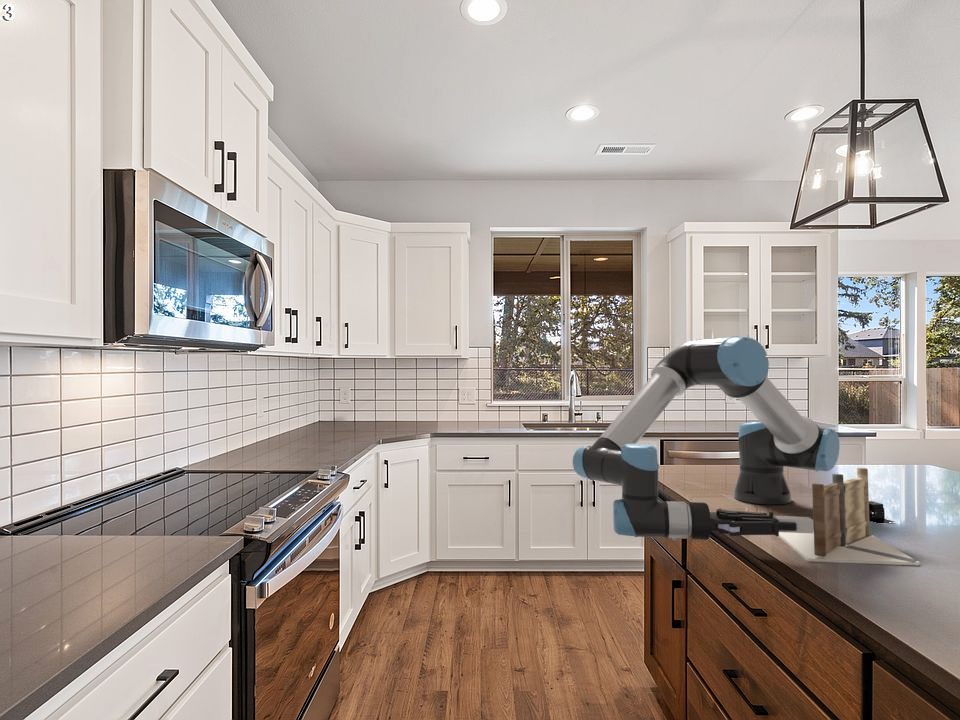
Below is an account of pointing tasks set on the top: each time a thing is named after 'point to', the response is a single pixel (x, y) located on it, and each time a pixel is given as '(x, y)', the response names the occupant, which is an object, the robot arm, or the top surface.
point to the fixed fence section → (853, 506)
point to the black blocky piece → (877, 513)
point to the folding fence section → (826, 518)
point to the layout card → (848, 550)
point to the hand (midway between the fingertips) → (810, 525)
